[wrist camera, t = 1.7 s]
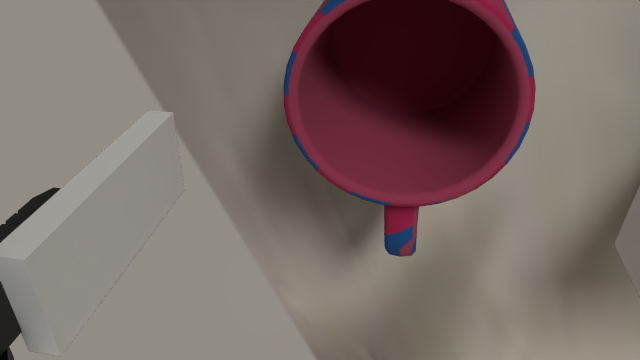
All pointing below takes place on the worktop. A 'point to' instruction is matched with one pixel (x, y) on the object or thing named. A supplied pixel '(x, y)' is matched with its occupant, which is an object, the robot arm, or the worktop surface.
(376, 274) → the worktop surface
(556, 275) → the worktop surface
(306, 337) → the worktop surface
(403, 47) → the mug
